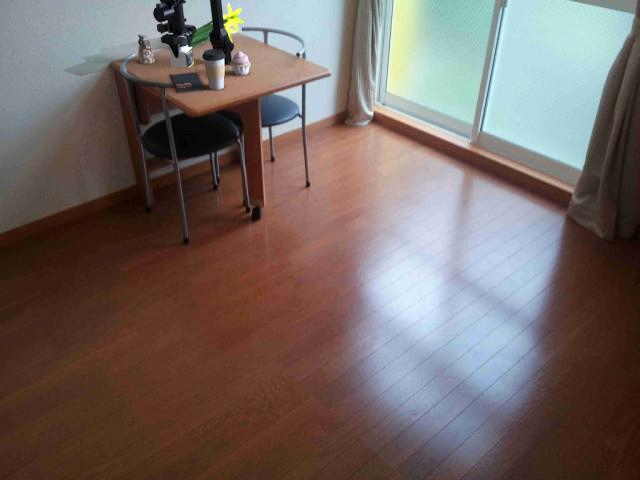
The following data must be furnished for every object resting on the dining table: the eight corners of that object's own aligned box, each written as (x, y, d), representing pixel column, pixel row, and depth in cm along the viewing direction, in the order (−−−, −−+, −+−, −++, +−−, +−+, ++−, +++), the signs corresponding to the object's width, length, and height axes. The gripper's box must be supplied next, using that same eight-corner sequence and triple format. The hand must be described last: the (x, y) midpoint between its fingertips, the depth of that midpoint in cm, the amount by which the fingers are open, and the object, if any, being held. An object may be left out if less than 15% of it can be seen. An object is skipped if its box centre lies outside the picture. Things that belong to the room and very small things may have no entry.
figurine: (146, 64, 262) (142, 38, 255) (135, 61, 265) (131, 35, 258) (158, 60, 267) (154, 34, 260) (147, 57, 270) (143, 31, 263)
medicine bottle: (187, 69, 239) (184, 40, 232) (171, 67, 240) (167, 39, 233) (194, 63, 245) (190, 35, 238) (178, 62, 246) (174, 33, 239)
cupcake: (248, 68, 261) (247, 46, 255) (253, 76, 254) (252, 53, 248) (228, 71, 258) (226, 48, 252) (233, 78, 251) (231, 55, 245)
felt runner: (196, 73, 255) (196, 72, 255) (204, 89, 240) (204, 88, 240) (171, 75, 252) (171, 74, 252) (178, 92, 237) (178, 91, 237)
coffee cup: (228, 83, 246) (226, 48, 237) (226, 91, 239) (223, 56, 230) (206, 83, 246) (203, 48, 237) (203, 91, 238) (200, 55, 229)
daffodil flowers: (175, 44, 289) (236, 17, 297) (189, 66, 286) (250, 38, 294) (170, 22, 273) (234, -6, 281) (184, 45, 270) (249, 16, 278)
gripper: (172, 8, 240) (176, 46, 249) (146, 20, 226) (152, 59, 235) (195, 11, 237) (199, 49, 246) (171, 23, 223) (176, 63, 232)
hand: (181, 55), depth 240 cm, fingers closed on medicine bottle, 7 cm apart
